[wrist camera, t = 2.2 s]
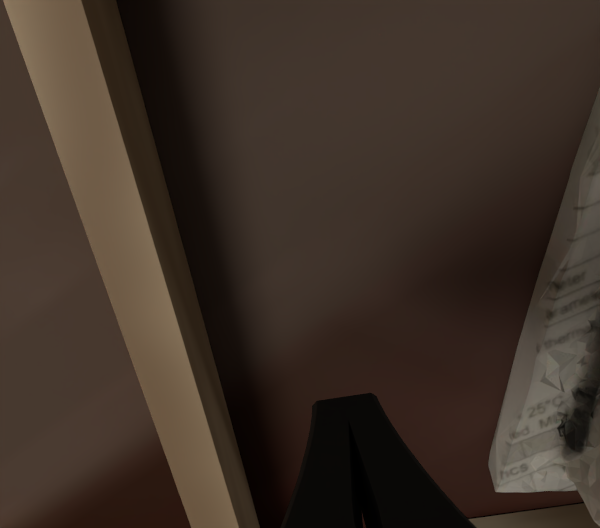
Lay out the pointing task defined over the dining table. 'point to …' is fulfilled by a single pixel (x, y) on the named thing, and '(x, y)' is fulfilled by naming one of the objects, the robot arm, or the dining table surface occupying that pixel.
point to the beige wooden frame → (152, 254)
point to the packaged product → (559, 353)
